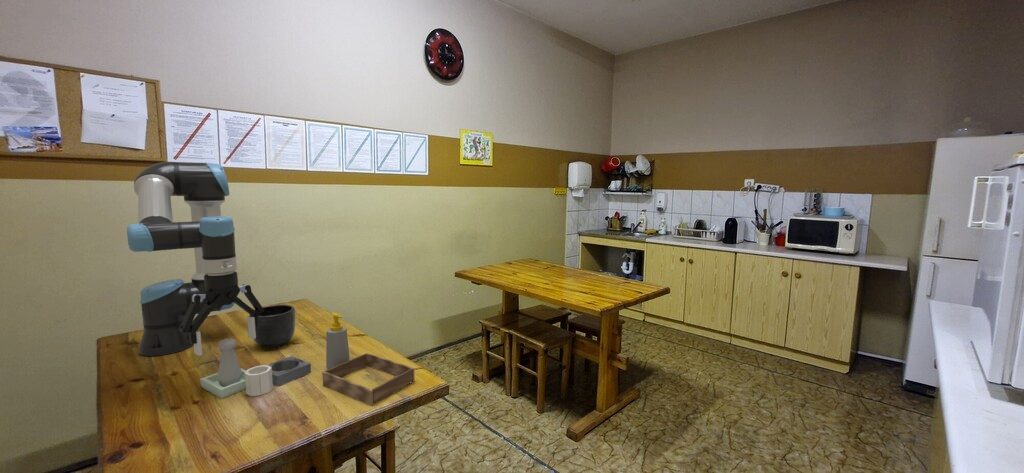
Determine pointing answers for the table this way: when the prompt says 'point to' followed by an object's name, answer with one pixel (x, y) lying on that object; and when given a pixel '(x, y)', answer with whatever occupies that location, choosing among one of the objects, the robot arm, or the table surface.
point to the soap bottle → (336, 344)
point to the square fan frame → (296, 370)
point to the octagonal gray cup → (258, 380)
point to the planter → (275, 326)
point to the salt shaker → (228, 363)
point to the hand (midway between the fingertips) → (226, 345)
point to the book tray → (368, 396)
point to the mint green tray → (215, 387)
